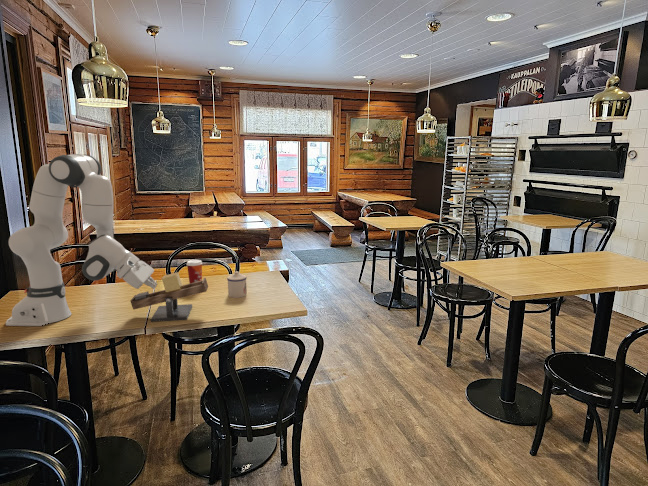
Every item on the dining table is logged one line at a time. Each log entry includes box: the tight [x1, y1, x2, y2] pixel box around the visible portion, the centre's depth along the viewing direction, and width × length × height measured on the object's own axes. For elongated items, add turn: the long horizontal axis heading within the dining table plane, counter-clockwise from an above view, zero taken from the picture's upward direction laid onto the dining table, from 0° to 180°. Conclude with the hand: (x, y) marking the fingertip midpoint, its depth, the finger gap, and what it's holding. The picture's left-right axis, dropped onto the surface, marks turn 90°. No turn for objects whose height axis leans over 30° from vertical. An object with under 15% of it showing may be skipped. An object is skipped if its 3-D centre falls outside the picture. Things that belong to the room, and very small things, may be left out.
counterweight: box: [134, 291, 150, 301], centre depth 174 cm, size 4×4×3 cm
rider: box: [161, 271, 183, 293], centre depth 175 cm, size 6×4×8 cm
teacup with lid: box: [226, 270, 248, 299], centre depth 202 cm, size 12×9×12 cm
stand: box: [150, 297, 193, 323], centre depth 177 cm, size 14×15×9 cm
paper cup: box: [186, 259, 203, 284], centre depth 211 cm, size 8×8×14 cm
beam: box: [130, 277, 209, 310], centre depth 176 cm, size 30×7×5 cm, turn 99°
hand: (155, 286), depth 174 cm, fingers closed
